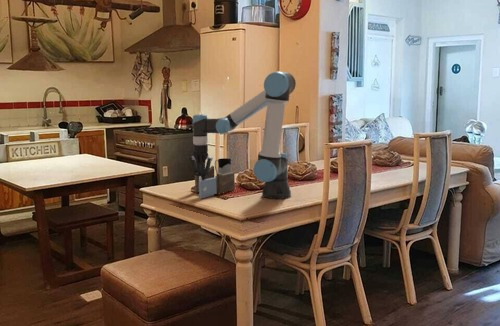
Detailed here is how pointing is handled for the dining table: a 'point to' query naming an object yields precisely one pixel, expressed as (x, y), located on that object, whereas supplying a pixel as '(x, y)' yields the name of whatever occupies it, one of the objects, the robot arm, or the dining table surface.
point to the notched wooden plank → (225, 182)
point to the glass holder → (223, 166)
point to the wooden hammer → (210, 175)
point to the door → (207, 187)
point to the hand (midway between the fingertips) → (201, 188)
